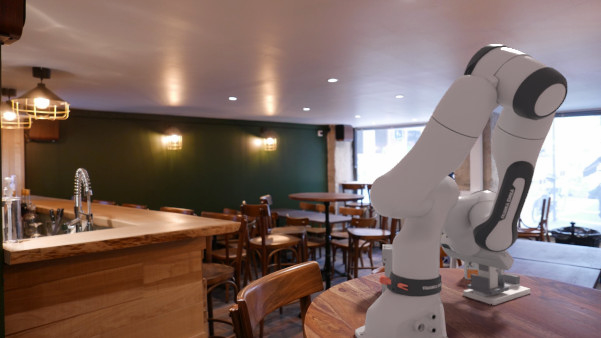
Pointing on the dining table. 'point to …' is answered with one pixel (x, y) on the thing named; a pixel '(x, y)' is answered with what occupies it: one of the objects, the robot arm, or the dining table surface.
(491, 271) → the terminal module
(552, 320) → the dining table surface
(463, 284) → the dining table surface
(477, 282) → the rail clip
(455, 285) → the dining table surface
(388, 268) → the circuit breaker
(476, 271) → the skincare box
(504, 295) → the board
